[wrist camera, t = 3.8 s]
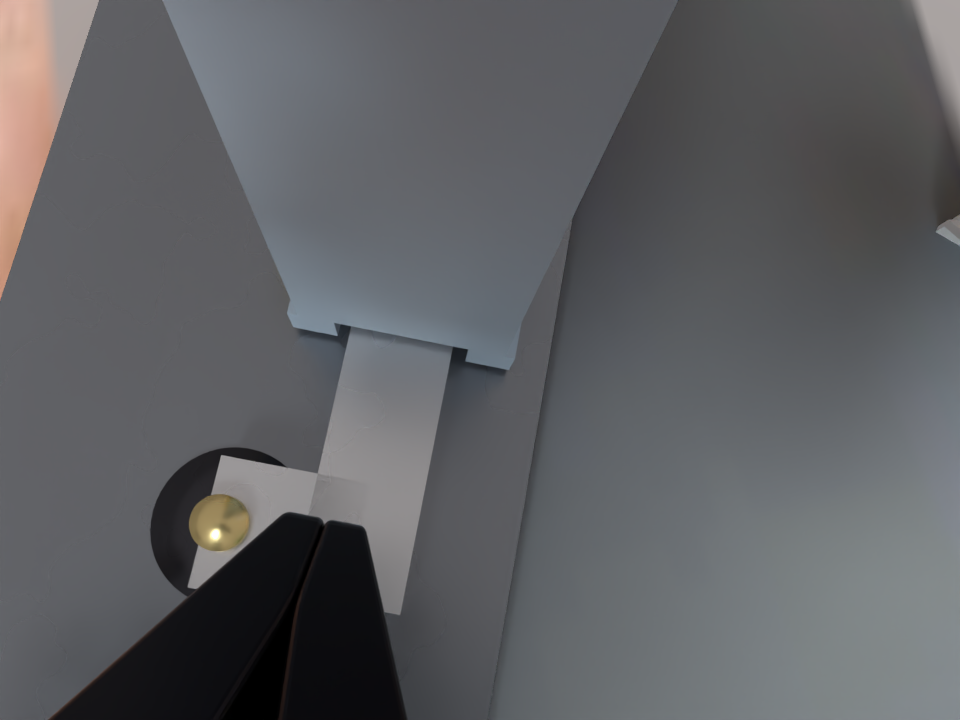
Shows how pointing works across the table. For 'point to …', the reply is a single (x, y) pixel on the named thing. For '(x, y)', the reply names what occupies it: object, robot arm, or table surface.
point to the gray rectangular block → (417, 147)
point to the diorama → (950, 230)
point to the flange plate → (226, 406)
